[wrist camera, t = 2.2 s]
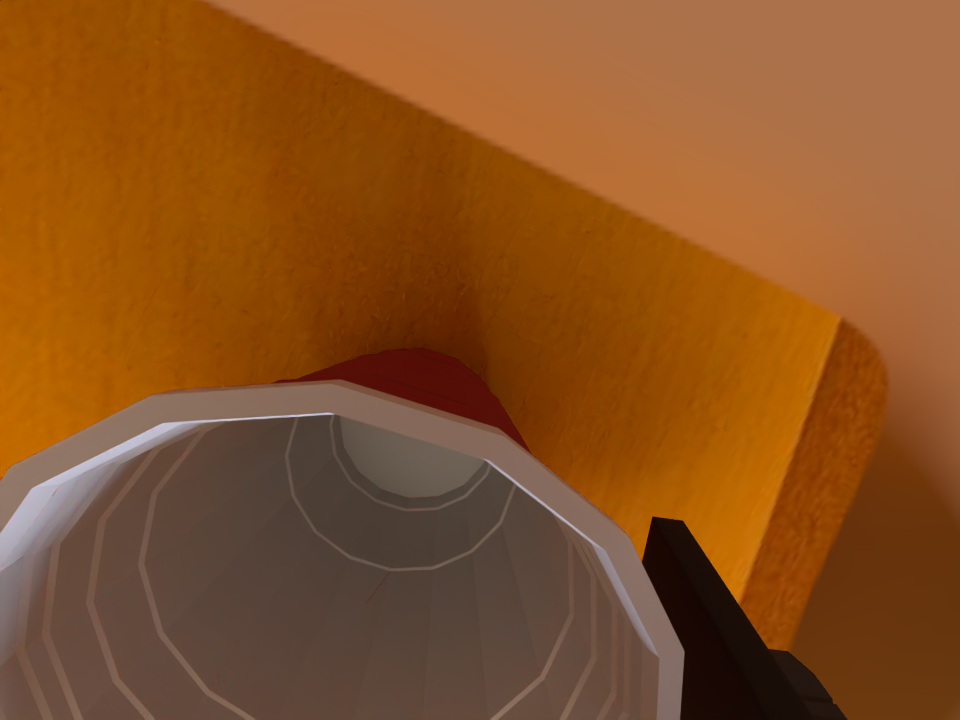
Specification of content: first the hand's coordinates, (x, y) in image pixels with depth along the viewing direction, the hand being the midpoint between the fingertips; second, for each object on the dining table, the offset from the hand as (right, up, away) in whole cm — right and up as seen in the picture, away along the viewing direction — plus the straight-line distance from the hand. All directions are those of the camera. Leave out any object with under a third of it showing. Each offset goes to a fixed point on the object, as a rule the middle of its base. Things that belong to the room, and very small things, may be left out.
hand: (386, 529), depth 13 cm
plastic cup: (0, +2, +6) cm, 6 cm away
